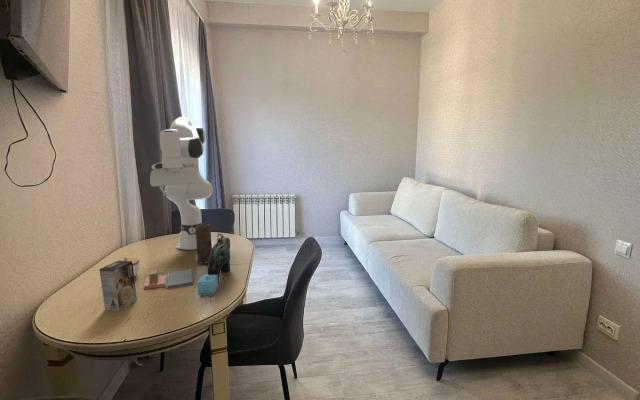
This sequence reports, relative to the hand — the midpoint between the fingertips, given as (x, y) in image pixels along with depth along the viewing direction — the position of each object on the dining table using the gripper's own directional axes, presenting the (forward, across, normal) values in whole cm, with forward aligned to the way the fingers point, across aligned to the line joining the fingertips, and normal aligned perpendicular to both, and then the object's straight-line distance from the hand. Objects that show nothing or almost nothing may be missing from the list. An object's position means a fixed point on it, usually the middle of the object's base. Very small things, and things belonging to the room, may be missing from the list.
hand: (176, 194), depth 152 cm
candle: (+36, -10, -10) cm, 39 cm away
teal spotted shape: (+39, -15, +12) cm, 44 cm away
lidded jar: (+36, +24, -5) cm, 44 cm away
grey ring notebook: (+38, +2, +7) cm, 38 cm away
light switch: (+37, +12, +7) cm, 40 cm away
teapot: (+40, -8, +27) cm, 49 cm away
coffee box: (+39, +23, +24) cm, 51 cm away
